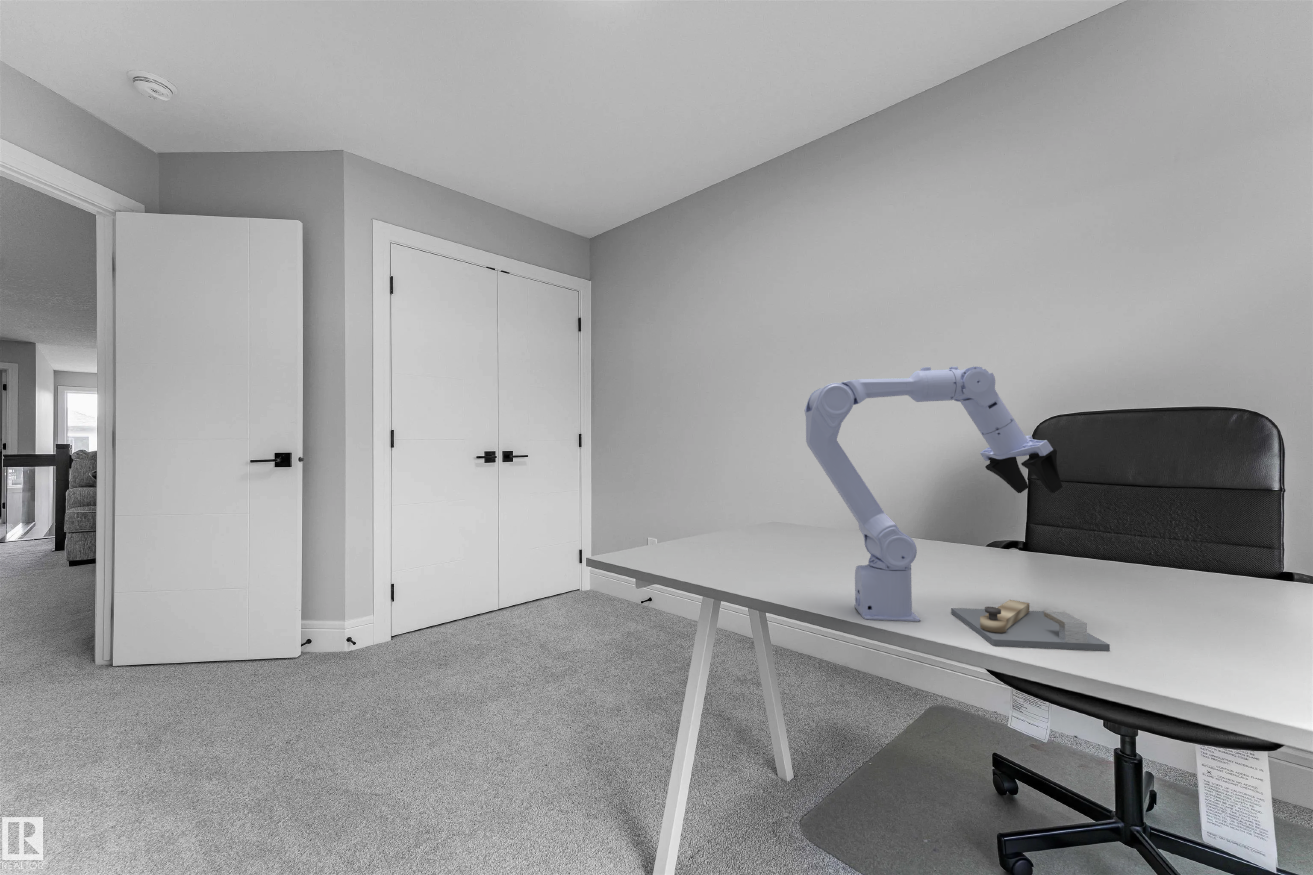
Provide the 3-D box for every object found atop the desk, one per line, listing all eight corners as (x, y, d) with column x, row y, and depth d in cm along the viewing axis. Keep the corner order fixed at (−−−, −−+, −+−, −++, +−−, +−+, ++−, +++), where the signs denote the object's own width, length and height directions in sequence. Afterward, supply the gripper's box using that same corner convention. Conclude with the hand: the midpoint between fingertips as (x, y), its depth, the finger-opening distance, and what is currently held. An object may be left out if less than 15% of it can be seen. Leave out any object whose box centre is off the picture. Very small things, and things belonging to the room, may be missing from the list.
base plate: (993, 645, 81) (993, 639, 81) (951, 613, 97) (951, 607, 97) (1109, 650, 79) (1109, 644, 79) (1046, 616, 95) (1046, 611, 95)
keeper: (1065, 642, 80) (1064, 622, 80) (1044, 629, 85) (1043, 611, 85) (1087, 643, 79) (1086, 623, 79) (1064, 630, 85) (1064, 611, 85)
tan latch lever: (1002, 634, 83) (1002, 613, 83) (976, 628, 85) (976, 608, 86) (1031, 611, 94) (1031, 593, 94) (1007, 607, 96) (1007, 589, 96)
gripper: (1045, 408, 90) (1091, 477, 89) (986, 420, 104) (1025, 479, 103) (1013, 430, 89) (1059, 499, 88) (958, 439, 103) (997, 498, 102)
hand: (1039, 490), depth 96 cm, fingers open, 7 cm apart
